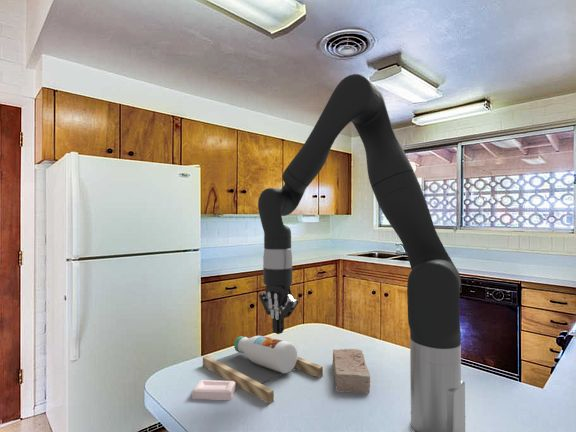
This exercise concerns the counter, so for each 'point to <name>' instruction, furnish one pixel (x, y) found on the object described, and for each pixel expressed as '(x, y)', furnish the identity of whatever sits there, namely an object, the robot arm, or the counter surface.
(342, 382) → the brick
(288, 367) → the milk bottle
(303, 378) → the counter surface
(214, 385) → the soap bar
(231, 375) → the rails
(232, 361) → the mat
